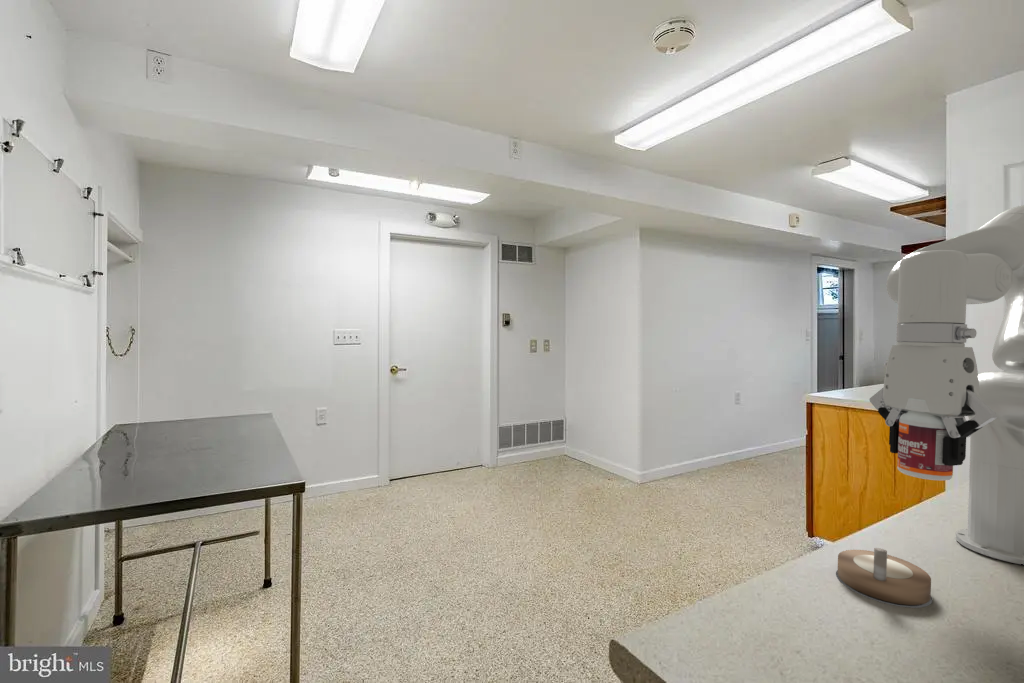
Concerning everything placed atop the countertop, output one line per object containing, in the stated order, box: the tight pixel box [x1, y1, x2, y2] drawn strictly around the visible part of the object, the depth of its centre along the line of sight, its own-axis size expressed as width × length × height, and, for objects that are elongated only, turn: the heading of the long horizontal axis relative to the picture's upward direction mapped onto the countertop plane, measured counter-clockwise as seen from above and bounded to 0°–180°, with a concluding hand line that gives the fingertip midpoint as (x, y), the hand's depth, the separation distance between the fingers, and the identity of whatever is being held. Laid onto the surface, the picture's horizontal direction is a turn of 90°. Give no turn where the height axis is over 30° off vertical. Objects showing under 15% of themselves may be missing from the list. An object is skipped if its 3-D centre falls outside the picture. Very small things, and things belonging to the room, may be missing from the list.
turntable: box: [837, 547, 932, 605], centre depth 68 cm, size 11×11×6 cm
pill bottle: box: [896, 398, 954, 481], centre depth 69 cm, size 6×6×11 cm
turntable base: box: [835, 569, 933, 609], centre depth 68 cm, size 11×11×2 cm
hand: (924, 457), depth 69 cm, fingers closed on pill bottle, 6 cm apart
